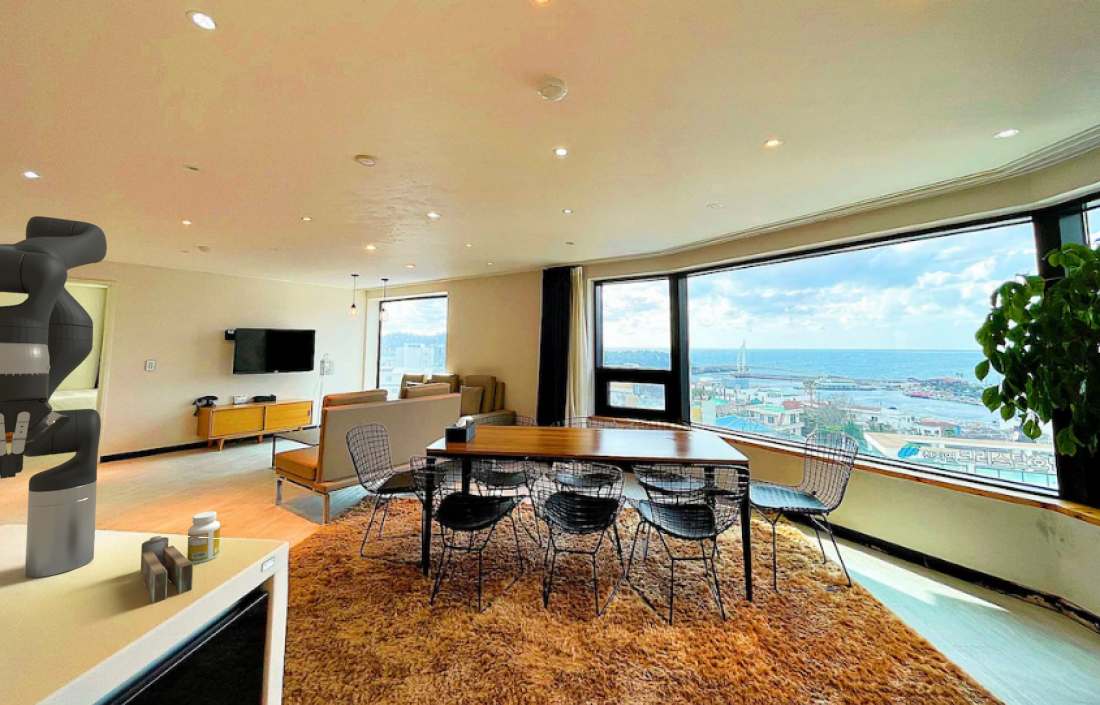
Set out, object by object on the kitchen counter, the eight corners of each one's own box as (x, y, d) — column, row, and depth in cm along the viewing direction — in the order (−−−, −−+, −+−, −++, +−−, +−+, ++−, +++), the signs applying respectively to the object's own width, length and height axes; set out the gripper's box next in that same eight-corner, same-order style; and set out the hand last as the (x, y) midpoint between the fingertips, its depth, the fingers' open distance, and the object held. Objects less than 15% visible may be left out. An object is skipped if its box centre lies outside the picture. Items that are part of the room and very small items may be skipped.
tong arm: (140, 578, 80) (141, 553, 80) (152, 575, 81) (153, 550, 81) (152, 603, 72) (153, 575, 72) (166, 598, 73) (167, 571, 73)
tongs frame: (138, 571, 82) (139, 538, 83) (167, 562, 86) (168, 531, 86) (160, 600, 73) (162, 563, 73) (192, 589, 76) (193, 554, 76)
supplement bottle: (211, 550, 92) (212, 508, 92) (224, 555, 90) (225, 512, 90) (182, 560, 87) (183, 516, 87) (194, 566, 85) (196, 520, 85)
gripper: (71, 370, 73) (68, 465, 72) (-61, 371, 62) (-66, 482, 61) (78, 371, 68) (73, 471, 68) (-64, 372, 57) (-69, 492, 57)
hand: (7, 476), depth 65 cm, fingers closed
